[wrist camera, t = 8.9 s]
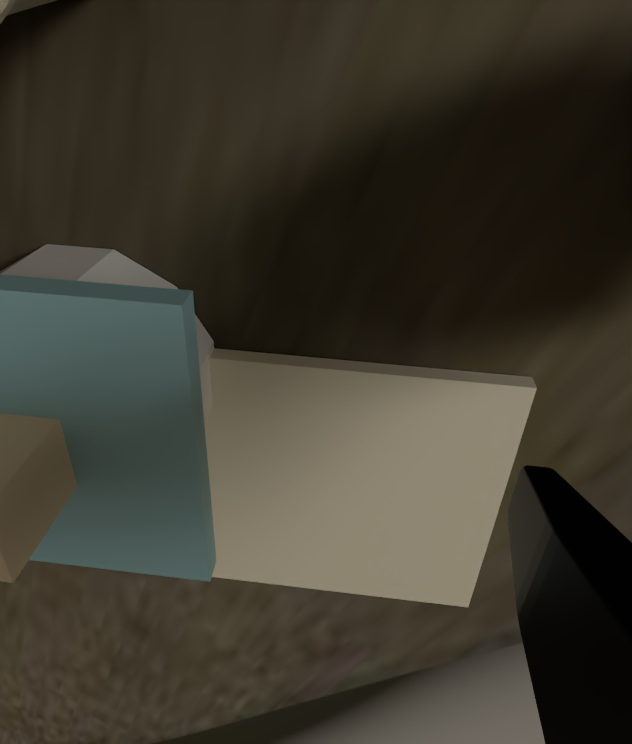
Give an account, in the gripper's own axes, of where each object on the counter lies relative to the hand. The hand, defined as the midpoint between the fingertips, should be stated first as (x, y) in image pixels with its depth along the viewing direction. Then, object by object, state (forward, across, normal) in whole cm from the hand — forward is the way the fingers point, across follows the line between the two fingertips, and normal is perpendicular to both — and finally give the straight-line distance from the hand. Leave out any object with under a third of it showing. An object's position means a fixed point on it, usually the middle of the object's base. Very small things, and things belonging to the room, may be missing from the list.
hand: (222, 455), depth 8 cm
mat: (+13, -2, +13) cm, 18 cm away
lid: (+8, +9, +7) cm, 14 cm away
